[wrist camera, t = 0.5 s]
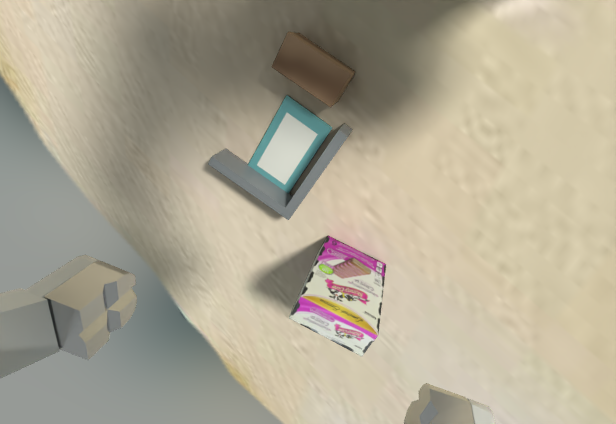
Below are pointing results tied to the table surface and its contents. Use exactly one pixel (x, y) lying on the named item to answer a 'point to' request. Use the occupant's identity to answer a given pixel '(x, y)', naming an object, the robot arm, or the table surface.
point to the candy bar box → (342, 296)
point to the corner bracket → (283, 158)
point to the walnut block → (312, 68)
